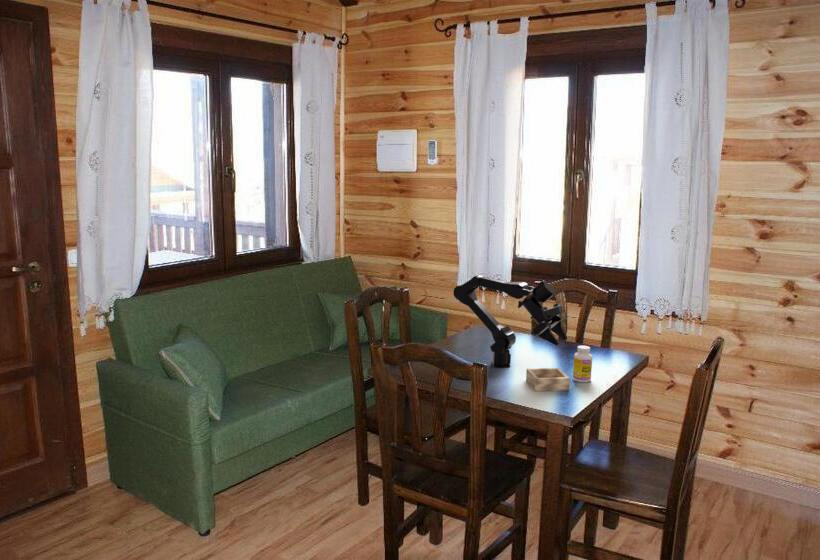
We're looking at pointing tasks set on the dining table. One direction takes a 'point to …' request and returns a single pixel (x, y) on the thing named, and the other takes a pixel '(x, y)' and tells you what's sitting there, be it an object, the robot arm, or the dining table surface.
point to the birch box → (547, 379)
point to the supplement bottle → (582, 364)
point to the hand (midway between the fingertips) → (562, 342)
